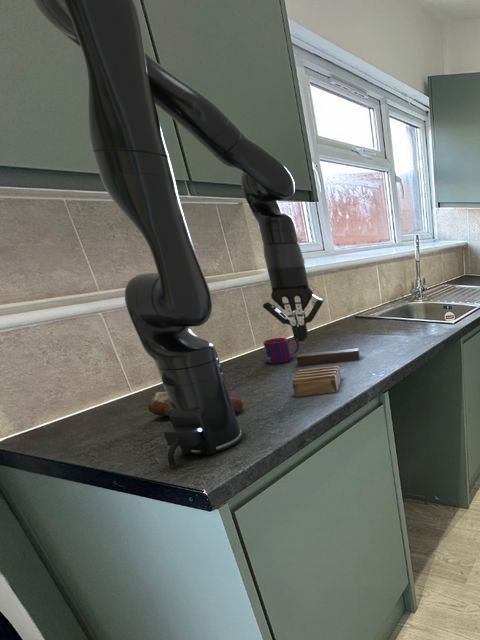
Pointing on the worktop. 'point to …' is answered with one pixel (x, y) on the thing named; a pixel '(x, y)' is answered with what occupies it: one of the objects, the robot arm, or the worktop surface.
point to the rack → (316, 381)
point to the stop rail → (328, 357)
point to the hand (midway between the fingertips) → (302, 340)
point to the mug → (279, 350)
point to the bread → (162, 404)
